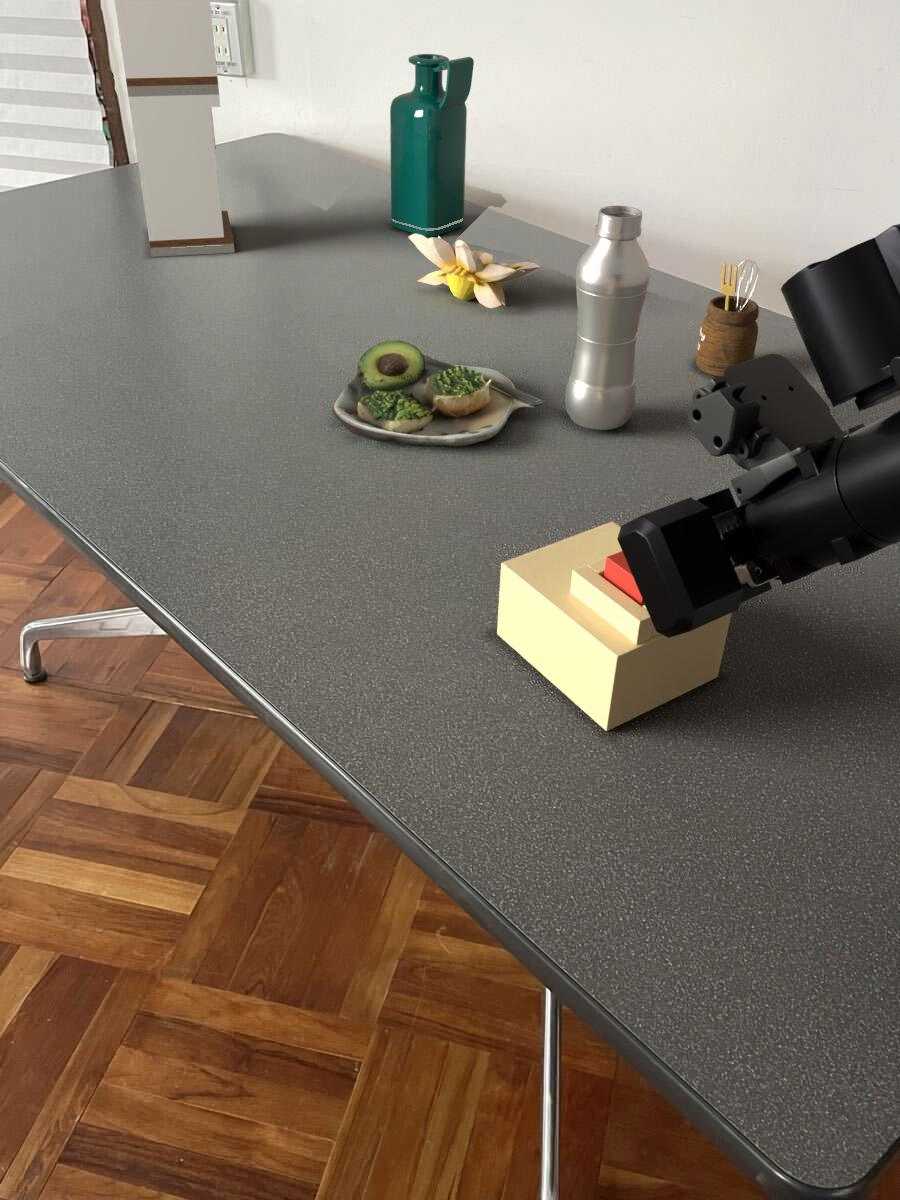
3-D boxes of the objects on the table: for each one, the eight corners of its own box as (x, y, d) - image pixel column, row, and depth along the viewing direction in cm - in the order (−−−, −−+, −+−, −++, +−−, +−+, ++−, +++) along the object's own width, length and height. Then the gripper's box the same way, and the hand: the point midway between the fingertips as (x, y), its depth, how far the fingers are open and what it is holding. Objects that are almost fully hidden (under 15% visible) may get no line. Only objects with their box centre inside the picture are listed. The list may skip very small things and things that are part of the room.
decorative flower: (564, 285, 128) (553, 205, 122) (503, 331, 123) (488, 250, 117) (473, 262, 137) (458, 187, 131) (413, 304, 132) (394, 228, 126)
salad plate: (555, 384, 110) (558, 342, 107) (521, 466, 96) (524, 420, 93) (375, 362, 114) (374, 320, 111) (317, 438, 100) (314, 392, 97)
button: (683, 589, 68) (687, 566, 67) (640, 607, 67) (644, 584, 66) (644, 562, 71) (648, 540, 70) (603, 579, 69) (606, 556, 68)
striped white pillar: (234, 252, 141) (204, -59, 120) (151, 256, 139) (105, -59, 118) (228, 225, 150) (199, -69, 129) (150, 229, 148) (108, -69, 127)
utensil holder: (759, 365, 115) (781, 253, 108) (736, 385, 111) (758, 270, 104) (707, 351, 118) (726, 242, 111) (684, 370, 114) (702, 258, 107)
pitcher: (385, 226, 151) (382, 53, 138) (424, 213, 156) (425, 45, 143) (437, 242, 146) (440, 64, 133) (476, 228, 151) (482, 55, 138)
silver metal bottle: (636, 439, 101) (666, 224, 89) (565, 437, 101) (585, 222, 89) (627, 408, 106) (654, 201, 94) (559, 407, 106) (577, 199, 94)
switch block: (718, 677, 73) (739, 582, 68) (606, 731, 69) (620, 633, 64) (603, 590, 81) (615, 499, 76) (496, 634, 77) (502, 540, 72)
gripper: (935, 294, 56) (740, 407, 70) (671, 372, 47) (508, 483, 61) (1022, 491, 55) (808, 565, 69) (771, 607, 47) (584, 665, 60)
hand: (683, 565), depth 65 cm, fingers closed
